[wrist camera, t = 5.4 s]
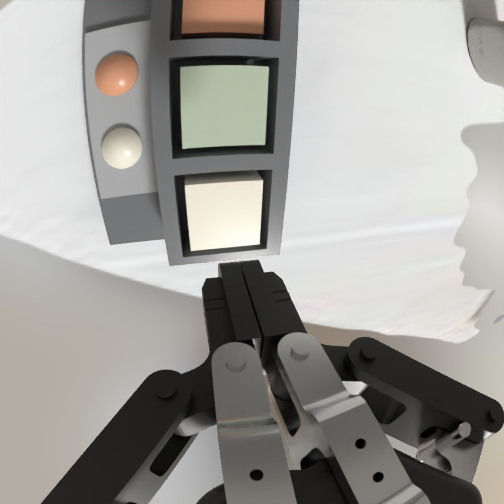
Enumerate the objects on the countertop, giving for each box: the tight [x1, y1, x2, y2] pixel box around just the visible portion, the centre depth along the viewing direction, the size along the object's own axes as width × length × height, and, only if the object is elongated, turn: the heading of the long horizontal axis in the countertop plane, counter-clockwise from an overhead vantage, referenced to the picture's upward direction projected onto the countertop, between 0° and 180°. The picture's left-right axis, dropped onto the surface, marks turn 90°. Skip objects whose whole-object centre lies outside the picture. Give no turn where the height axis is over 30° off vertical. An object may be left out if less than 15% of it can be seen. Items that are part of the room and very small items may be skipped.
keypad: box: [82, 0, 299, 266], centre depth 15 cm, size 14×21×6 cm
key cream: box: [185, 170, 263, 251], centre depth 18 cm, size 5×5×2 cm
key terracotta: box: [182, 0, 265, 38], centre depth 11 cm, size 5×5×2 cm
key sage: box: [180, 65, 269, 149], centre depth 14 cm, size 5×5×2 cm
